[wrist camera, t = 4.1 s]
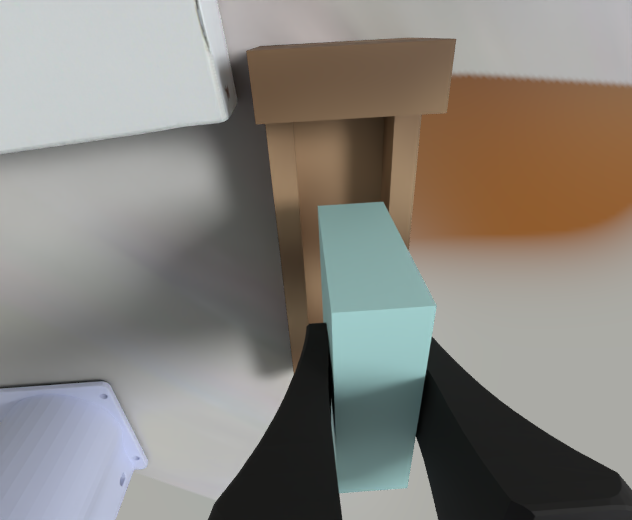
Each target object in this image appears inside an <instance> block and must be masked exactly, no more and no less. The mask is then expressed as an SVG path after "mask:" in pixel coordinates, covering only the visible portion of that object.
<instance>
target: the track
mask: <svg viewBox="0 0 632 520" xmlns="http://www.w3.org/2000/svg"><path fill="white" fill-rule="evenodd" d="M455 44H456V39H439V38H396V39H379V40H361V41H343V42H326V43H308V44H291V45H273V46H259V47H256V48H253V49H250V50H247V51H246V52H247V60H248V68H249V76H250V84H251V91H252V99H253V107H254V115H255V123H256V124H265V126H266V135H267V143H268V152H269V161H270V170H271V178H272V187H273V196H274V205H275V213H276V222H277V231H278V240H279V248H280V257H281V266H282V275H283V283H284V292H285V301H286V310H287V318H288V327H289V336H290V344H291V353H292V362H293V371H294V373H295V370H296V368H297V365H298V362H299V359H300V356H301V352H302V349H303V345H304V341H305V335H306V326H307V325H309V324H312V323H323V305H322V285H321V265H320V244H319V224H318V206H323V205H339V204H355V203H370V202H384V204H385V206H386V208H387V210H388V212H389V214H390V216H391V218H392V220H393V222H394V224H395V226H396V228H397V230H398V232H399V233H400V235H401V237H402V239H403V241H404V243H405V245H406V247H407V249H408V251H409V241H410V230H411V220H412V208H413V198H414V188H415V178H416V167H417V157H418V146H419V136H420V125H421V115H422V114H437V113H447V106H448V98H449V90H450V82H451V75H452V67H453V59H454V51H455Z"/></svg>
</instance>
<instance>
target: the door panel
mask: <svg viewBox="0 0 632 520" xmlns="http://www.w3.org/2000/svg"><path fill="white" fill-rule="evenodd" d="M318 224H319V244H320V265H321V285H322V305H323V323H326V324H327V331H328V339H329V356H330V381H331V426H332V435H333V444H334V453H335V462H336V471H337V480H338V488H339V493H348V492H360V491H375V490H388V489H400V488H407V487H408V480H409V474H410V468H411V462H412V455H413V449H414V443H415V437H416V431H417V424H418V418H419V412H420V406H421V400H422V393H423V387H424V381H425V375H426V369H427V362H428V356H429V350H430V344H431V337H432V331H433V325H434V318H435V312H436V304H435V302H434V300H433V298H432V296H431V294H430V292H429V290H428V288H427V286H426V284H425V282H424V280H423V279H422V276H421V275H420V273H419V271H418V269H417V267H416V265H415V263H414V261H413V259H412V257H411V255H410V253H409V251H408V249H407V247H406V245H405V243H404V241H403V239H402V237H401V235H400V233H399V232H398V230H397V228H396V226H395V224H394V222H393V220H392V218H391V216H390V214H389V212H388V210H387V208H386V206H385V204H384V202H370V203H355V204H339V205H323V206H318Z"/></svg>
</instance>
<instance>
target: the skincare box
mask: <svg viewBox="0 0 632 520" xmlns="http://www.w3.org/2000/svg"><path fill="white" fill-rule="evenodd" d="M237 102H238V101H237V95H236V90H235V85H234V80H233V75H232V70H231V65H230V60H229V55H228V50H227V45H226V40H225V35H224V30H223V25H222V21H221V16H220V11H219V6H218V2H217V0H0V154H7V153H14V152H21V151H28V150H35V149H42V148H49V147H56V146H63V145H70V144H78V143H84V142H91V141H98V140H105V139H112V138H118V137H125V136H132V135H139V134H145V133H151V132H157V131H163V130H169V129H173V128H180V127H185V126H196V125H205V124H215V123H221V122H225V121H226V120H228V119H229V117H230V116H231V114H232V113H233V111H234V109H235V107H236V105H237Z"/></svg>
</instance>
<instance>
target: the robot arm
mask: <svg viewBox="0 0 632 520" xmlns="http://www.w3.org/2000/svg"><path fill="white" fill-rule="evenodd" d="M416 437H417V441H418V443H419V446H420V449H421V453H422V456H423V459H424V462H425V466H426V470H427V474H428V478H429V482H430V486H431V490H432V494H433V499H434V503H435V507H436V512H437V516H438V520H632V490H631V488H630V487H629V486H628V485H627V484H626V482H625V481H624V480H623V479H622V478H621V476H620V475H619V474H618V473H617V472H615V471H613V470H611V469H609V468H607V467H606V466H604V465H602V464H600V463H598V462H596V461H594V460H593V459H591V458H589V457H587V456H585V455H583V454H581V453H580V452H578V451H576V450H574V449H573V448H571V447H569V446H567V445H566V444H564V443H563V442H561V441H559V440H557V439H556V438H554V437H553V436H551V435H549V434H548V433H546V432H545V431H543V430H541V429H540V428H538V427H537V426H535V425H534V424H532V423H531V422H529V421H528V420H527V419H525V418H523V417H522V416H521V415H519V414H518V413H516V412H515V411H513V410H512V409H511V408H509V407H508V406H507V405H505V404H504V403H503V402H501V401H500V400H499V399H498V398H496V397H495V396H494V395H492V394H491V393H490V392H489V391H488V390H486V389H485V388H484V387H483V386H482V385H480V384H479V383H478V382H477V381H476V380H475V379H474V378H473V377H472V376H471V375H469V374H468V373H467V372H466V371H465V370H464V369H463V368H462V367H461V366H460V365H459V364H458V363H457V362H456V361H455V360H454V359H453V358H452V357H451V356H450V355H449V354H448V353H447V352H446V351H445V350H444V349H443V348H442V347H441V346H440V345H439V344H438V343H437V341H436V340H435V339H434V338H433V337H431V344H430V350H429V356H428V362H427V369H426V375H425V381H424V387H423V393H422V400H421V406H420V412H419V418H418V424H417V431H416ZM147 465H148V460H147V458H146V456H145V454H144V452H143V450H142V448H141V446H140V444H139V442H138V440H137V438H136V436H135V434H134V432H133V430H132V428H131V426H130V424H129V422H128V420H127V418H126V416H125V414H124V412H123V410H122V408H121V406H120V404H119V402H118V400H117V398H116V396H115V394H114V392H113V390H112V388H111V386H110V385H109V384H108V383H107V382H103V381H99V382H85V383H71V384H57V385H44V386H30V387H16V388H2V389H0V520H116V517H117V515H118V512H119V509H120V506H121V504H122V501H123V498H124V496H125V493H126V490H127V487H128V485H129V482H130V479H131V476H132V474H133V471H134V470H137V469H144V468H146V467H147ZM208 520H342V514H341V505H340V497H339V488H338V480H337V471H336V462H335V453H334V444H333V435H332V426H331V381H330V356H329V339H328V331H327V324H326V323H312V324H309V325H307V326H306V335H305V341H304V345H303V349H302V352H301V356H300V359H299V362H298V365H297V368H296V370H295V373H294V376H293V378H292V380H291V383H290V385H289V388H288V390H287V392H286V395H285V397H284V399H283V401H282V403H281V405H280V407H279V409H278V411H277V413H276V415H275V417H274V418H273V420H272V422H271V424H270V425H269V427H268V429H267V431H266V432H265V434H264V436H263V437H262V439H261V441H260V442H259V444H258V445H257V447H256V448H255V450H254V451H253V453H252V454H251V456H250V457H249V459H248V460H247V462H246V463H245V464H244V466H243V467H242V469H241V470H240V472H239V473H238V474H237V476H236V477H235V478H234V479H233V481H232V482H231V483H230V485H229V486H228V487H227V488H226V490H225V491H224V492H223V493H222V495H221V496H220V497H219V499H218V500H217V501H216V502H215V504H214V506H213V509H212V511H211V514H210V516H209V518H208Z"/></svg>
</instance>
